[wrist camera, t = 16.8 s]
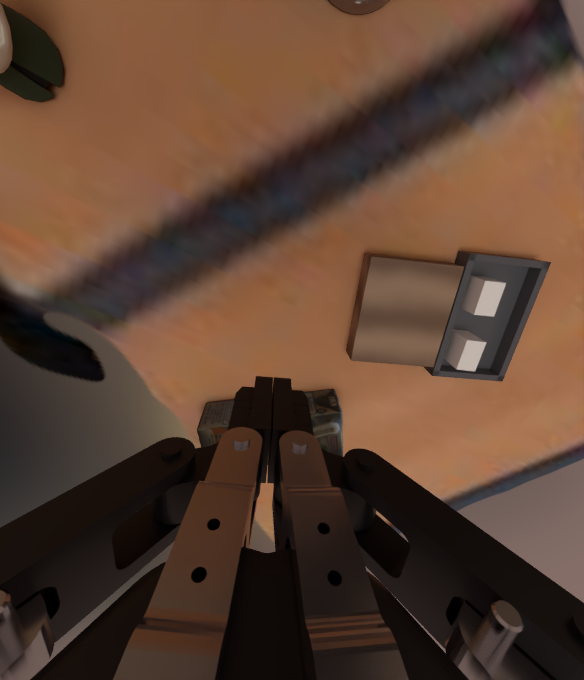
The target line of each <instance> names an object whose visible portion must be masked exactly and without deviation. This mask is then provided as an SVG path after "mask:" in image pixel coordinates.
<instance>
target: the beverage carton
mask: <svg viewBox="0 0 584 680" xmlns="http://www.w3.org/2000/svg"><path fill="white" fill-rule="evenodd" d="M303 393H304V394H305V395H306V396H307V397H308V401H309V408H310V414H311V420H312V426H313V432H314V437H316V438H317V440H318V441H319V443H320V446H321V448H323V449H324V450H326V451H328V452H330V453H332V454H336V455H339V456H343V437H342V411H341V408H340V406H339V403H338V398H337V395H336V393H335V391H334V389H331V390H321V391H312V392H303ZM233 404H234V400H230V401H222V402H213V403H206V405H205V407H204V410H203V413H202V416H201V419H200V422H199V425H198V428H197V433H198V436H199V440H200V444H201V447H207V446H210V445H213V444H215V443H217V442H219V441H220V438H221V436H222V435H223V434H224V433H225V432H226V431H227V430H228V425H229V421H230V417H231V413H232V408H233ZM268 457H269V454H268ZM267 465H268V464H267Z"/></svg>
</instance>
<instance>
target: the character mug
mask: <svg viewBox="0 0 584 680" xmlns="http://www.w3.org/2000/svg"><path fill="white" fill-rule="evenodd" d="M62 74H63V67H62V63H61V60H60V56H59V53H58V49H57V48H56V47H55V45H54V44H53V42H52V41H51V40H50V38H49V37H48V36H47V34H46V33H45V31H44V30H42V29H41V28H40V27H38V26H37V25H36V24H34V23H33V22H32V21H30V20H29V19H28V18H26V17H24V16H23V15H21V14H19V13H18V12H16V11H14V10H13V9H11V8H9V7H7V6H5V5H3V4H2V3H0V84H1V85H2V86H4V87H5V88H7V89H8V90H10V91H12V92H13V93H15V94H17V95H19V96H20V97H22V98H24V99H28V100H33V101H38V102H41V101H44V100H47V99H51V98H53V96H54V95H53V94H52V93H50V92H49V91H47V90H46V89H44V87H46V86H47V85H48V83H49V82H50V83H52V84H54V85H56V86H58V87H60V86H61V85H62Z"/></svg>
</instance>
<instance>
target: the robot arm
mask: <svg viewBox="0 0 584 680" xmlns="http://www.w3.org/2000/svg"><path fill="white" fill-rule="evenodd" d="M329 1H330V2H331V3H332V4H333V5H334V6H336V7H337V8H339V9H340V10H342V11H344V12H347V13H351V14H366V13H370V12H373V11H375V10H377V9H379V8H381V7H383V6H384V5H385V4H386V3H387V2H388V1H389V0H329ZM272 384H273V392H272ZM268 454H269V457H268ZM267 464H268V482H267V483H274V491H273V500H272V509H273V524H274V540H275V552H272V553H262V552H259V551H256V550H253V549H250V542H251V536H252V530H253V524H254V518H255V512H256V505H257V498H258V496H259V493H260V485H261V483H266V474H267ZM148 503H149V504H148ZM138 510H139V511H138ZM376 511H378V512H379V513H380V514H381V515H383V516H384V517H385V518H386V519H387V520H388V521H389V522H391V523H392V524H393V525H394V526H395V527H396V528H398V529H399V530H400V531H401V532H402V533H403V534H404V535H405V537H406V538H407V540H408V542H409V543H408V542H407V541H406V540H405V539H404V538H402V537H401V536H400V535H399V534H398V533H397V532H396V531H395V530H394V529H392V528H391V527H390V526H389V525H388V524H387V523H386V522H384V521H383V520H382V519H381V518H380V517H379V516H378V515H377V514H376ZM135 512H136V513H135ZM125 519H126V520H125ZM172 542H174V543H173V546H172V548H171V551H170V553H169V556H168V559H167V561H166V562H164V563H162V564H160V565H159V566H157V567H155V568H154V569H152V570H151V571H149V572H148V573H147V574H145V575H144V576H143V577H141V578H140V579H139V580H138V581H137V582H136V583H134V584H133V585H132V586H131V587H130V588H129V589H128V590H127V591H126V592H125V593H124V594H123V595H122V596H120V597H119V598H118V599H117V600H116V601H115V602H114V603H113V604H112V605H111V606H109V608H107V609H106V610H105V611H104V612H103V613H102V614H101V615H100V616H99V617H98V618H97V619H95V620H94V621H93V622H92V623H91V624H90V625H89V626H88V627H87V628H86V629H85V630H84V631H82V632H81V633H80V634H79V635H78V636H77V637H76V638H75V639H74V640H73V641H71V642H70V643H69V644H68V645H67V646H66V647H65V648H64V649H63V650H62V651H61V652H59V653H58V654H57V655H56V656H55V657H54V658H53V659H52V660H51V661H50V662H49V663H48V661H49V659H50V657H51V655H52V652H53V648H54V643H55V642H56V641H58V640H59V639H60V638H61V637H62V636H63V635H65V634H66V633H67V632H68V631H69V630H70V629H72V628H73V627H74V626H75V625H76V624H77V623H79V622H80V621H81V620H82V619H83V618H84V617H86V616H87V615H88V614H89V613H90V612H92V611H93V610H94V609H95V608H96V607H97V606H99V605H100V604H101V603H102V602H103V601H104V600H106V599H107V598H108V597H109V596H110V595H112V594H113V593H114V592H115V591H116V590H117V589H119V588H120V587H121V586H122V585H123V584H124V583H125V582H127V581H128V580H129V579H130V578H131V577H133V576H134V575H135V574H136V573H137V572H139V571H140V570H141V569H142V568H143V567H144V566H145V565H147V564H148V563H149V562H150V561H151V560H152V559H154V558H155V557H156V556H157V555H158V554H160V553H161V552H162V551H163V550H164V549H165V548H166V547H168V546H169V545H170V544H171V543H172ZM365 566H366V567H367V568H368V569H369V570H370V571H371V572H372V573H373V574H374V575H375V576H376V577H377V578H378V579H379V580H380V581H379V580H378V579H376V578H375V577H374V576H373V575H372V574H370V573H369V572H367V571H366V567H365ZM389 591H390V592H391V593H392V594H393V595H394V596H395V597H396V598H397V599H398V600H399V601H400V602H401V603H402V604H403V606H404V607H405V608H406V609H407V610H408V611H409V612H410V613H411V614H412V615H413V616H414V617H415V618H416V619H417V620H418V621H419V622H420V623H421V624H422V625H423V626H424V628H425V629H426V630H427V631H428V632H429V633H430V634H431V635H432V636H433V637H434V638H435V639H436V640H437V641H438V642H439V643H440V644H441V645H442V646H443V647H444V648H445V650H446V653H445V652H444V651H443V650H442V649H441V648H440V647H439V646H438V645H437V644H436V643H435V641H434V640H433V639H432V638H431V637H430V636H429V635H428V634H427V633H426V631H425V630H424V629H423V628H422V627H421V626H420V625H419V624H418V623H417V622H416V620H415V619H414V618H413V617H412V616H411V615H410V614H409V613H408V611H407V610H406V609H405V608H404V607H403V606H402V605H401V604H400V603H399V602H398V601H397V599H396V598H395V597H394V596H393V595H392V594H391V593H390V592H389ZM47 663H48V664H47ZM0 680H584V603H583V602H581V601H580V600H579V599H577V598H576V597H575V596H573V595H572V594H570V593H569V592H568V591H566V590H565V589H563V588H562V587H561V586H559V585H558V584H556V583H555V582H554V581H552V580H551V579H550V578H548V577H547V576H545V575H544V574H543V573H541V572H540V571H538V570H537V569H536V568H534V567H533V566H531V565H530V564H529V563H527V562H526V561H524V560H523V559H522V558H520V557H519V556H518V555H516V554H515V553H513V552H512V551H511V550H509V549H508V548H506V547H505V546H504V545H502V544H501V543H500V542H498V541H497V540H495V539H494V538H493V537H491V536H490V535H488V534H487V533H485V532H484V531H483V530H481V529H480V528H479V527H477V526H476V525H475V524H473V523H472V522H470V521H469V520H467V519H466V518H465V517H463V516H462V515H461V514H459V513H458V512H456V511H455V510H454V509H452V508H451V507H450V506H448V505H447V504H445V503H444V502H443V501H441V500H440V499H438V498H437V497H436V496H434V495H433V494H431V493H430V492H429V491H427V490H426V489H425V488H423V487H422V486H420V485H419V484H418V483H416V482H415V481H413V480H412V479H411V478H409V477H408V476H406V475H405V474H404V473H402V472H401V471H400V470H398V469H397V468H395V467H394V466H393V465H391V464H390V463H388V462H387V461H386V460H384V459H383V458H381V457H380V456H379V455H377V454H376V453H374V452H372V451H369V450H366V449H352V450H350V451H348V452H347V453H346V454H345V456H344V457H342V456H339V455H336V454H332V453H330V452H328V451H326V450H324V449H323V448H321V446H320V443H319V441H318V440H317V438H316V437H314V432H313V426H312V420H311V414H310V408H309V401H308V397H307V396H306V395H305V394H304V393H303V391H297V390H292V388H291V379H289V378H275V377H274V382H273V377H261V376H256V380H255V387H242V388H241V389H240V390H239V391H238V392H237V393H236V396H235V400H234V404H233V408H232V413H231V417H230V421H229V425H228V430H227V431H226V432H225V433H224V434H223V435H222V436H221V438H220V441H219V442H217V443H215V444H213V445H210V446H207V447H201V448H196V449H195V447H194V445H193V443H192V442H191V441H189V440H187V439H185V438H179V437H172V438H167V439H164V440H161V441H159V442H157V443H155V444H153V445H151V446H149V447H148V448H146V449H144V450H142V451H140V452H139V453H137V454H135V455H133V456H131V457H129V458H127V459H126V460H124V461H122V462H120V463H118V464H117V465H115V466H113V467H111V468H109V469H107V470H105V471H104V472H102V473H100V474H98V475H96V476H94V477H93V478H91V479H89V480H87V481H85V482H83V483H81V484H80V485H78V486H76V487H74V488H72V489H71V490H69V491H67V492H65V493H63V494H61V495H59V496H58V497H56V498H54V499H52V500H50V501H48V502H47V503H45V504H43V505H41V506H39V507H37V508H36V509H34V510H32V511H30V512H28V513H27V514H25V515H23V516H21V517H19V518H17V519H16V520H14V521H12V522H10V523H8V524H6V525H4V526H3V527H1V528H0Z"/></svg>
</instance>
